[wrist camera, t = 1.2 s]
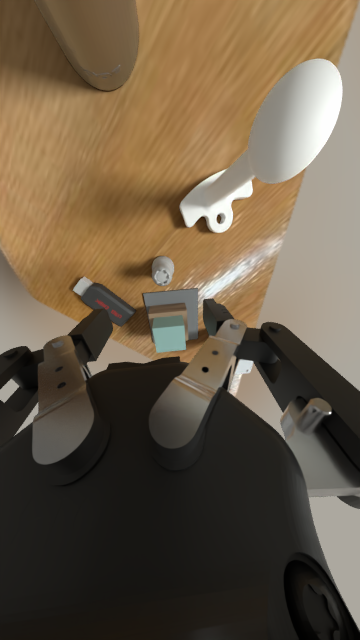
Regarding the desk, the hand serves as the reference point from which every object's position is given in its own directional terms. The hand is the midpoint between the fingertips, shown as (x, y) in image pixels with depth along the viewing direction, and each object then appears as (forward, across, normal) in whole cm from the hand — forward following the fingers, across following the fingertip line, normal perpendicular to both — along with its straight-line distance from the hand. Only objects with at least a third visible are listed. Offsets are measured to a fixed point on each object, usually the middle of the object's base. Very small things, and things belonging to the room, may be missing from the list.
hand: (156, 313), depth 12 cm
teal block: (+15, 0, +12) cm, 20 cm away
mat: (+20, -1, +12) cm, 23 cm away
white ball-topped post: (+20, -10, -9) cm, 24 cm away
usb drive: (+20, +13, +6) cm, 25 cm away
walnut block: (+19, 0, +12) cm, 23 cm away
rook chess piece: (+20, 0, 0) cm, 20 cm away
